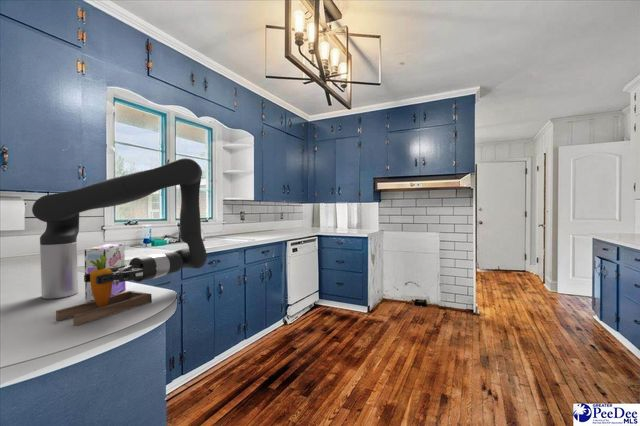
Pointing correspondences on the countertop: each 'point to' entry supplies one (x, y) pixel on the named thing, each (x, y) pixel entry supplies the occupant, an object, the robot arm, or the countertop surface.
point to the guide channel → (115, 305)
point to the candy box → (114, 258)
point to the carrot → (100, 290)
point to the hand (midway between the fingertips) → (91, 279)
